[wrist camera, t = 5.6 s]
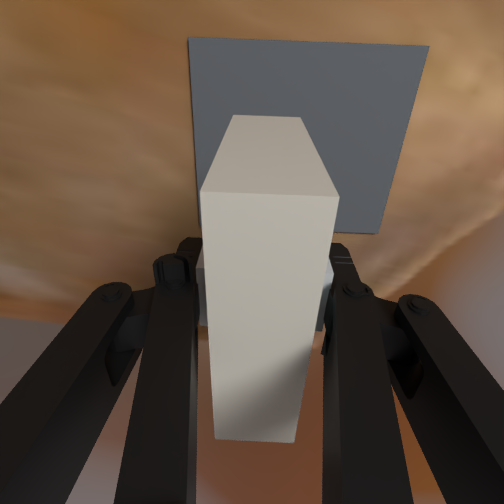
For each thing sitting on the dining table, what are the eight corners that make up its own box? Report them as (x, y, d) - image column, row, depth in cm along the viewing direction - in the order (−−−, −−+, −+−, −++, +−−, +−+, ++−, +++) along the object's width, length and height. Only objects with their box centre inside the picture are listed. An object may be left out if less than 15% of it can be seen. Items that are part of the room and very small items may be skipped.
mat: (200, 224, 33) (199, 226, 33) (189, 37, 25) (188, 37, 24) (376, 231, 33) (377, 233, 33) (427, 45, 25) (429, 46, 24)
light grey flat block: (233, 289, 20) (214, 439, 12) (233, 114, 15) (199, 191, 7) (284, 291, 20) (297, 443, 12) (303, 117, 15) (346, 196, 7)
